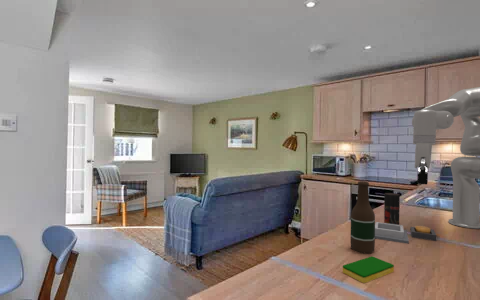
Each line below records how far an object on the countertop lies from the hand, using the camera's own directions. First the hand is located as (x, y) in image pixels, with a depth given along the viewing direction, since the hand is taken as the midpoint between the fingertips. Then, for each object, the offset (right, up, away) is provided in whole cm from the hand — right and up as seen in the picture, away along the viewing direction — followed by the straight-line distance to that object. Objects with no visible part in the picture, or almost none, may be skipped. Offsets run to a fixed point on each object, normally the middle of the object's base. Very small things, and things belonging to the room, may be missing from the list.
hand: (422, 183), depth 107 cm
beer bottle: (-31, -22, -14) cm, 40 cm away
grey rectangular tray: (-13, -22, +1) cm, 25 cm away
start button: (0, -20, 0) cm, 20 cm away
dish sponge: (-37, -23, -30) cm, 53 cm away
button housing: (0, -22, 0) cm, 22 cm away
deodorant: (-6, -22, +12) cm, 25 cm away
